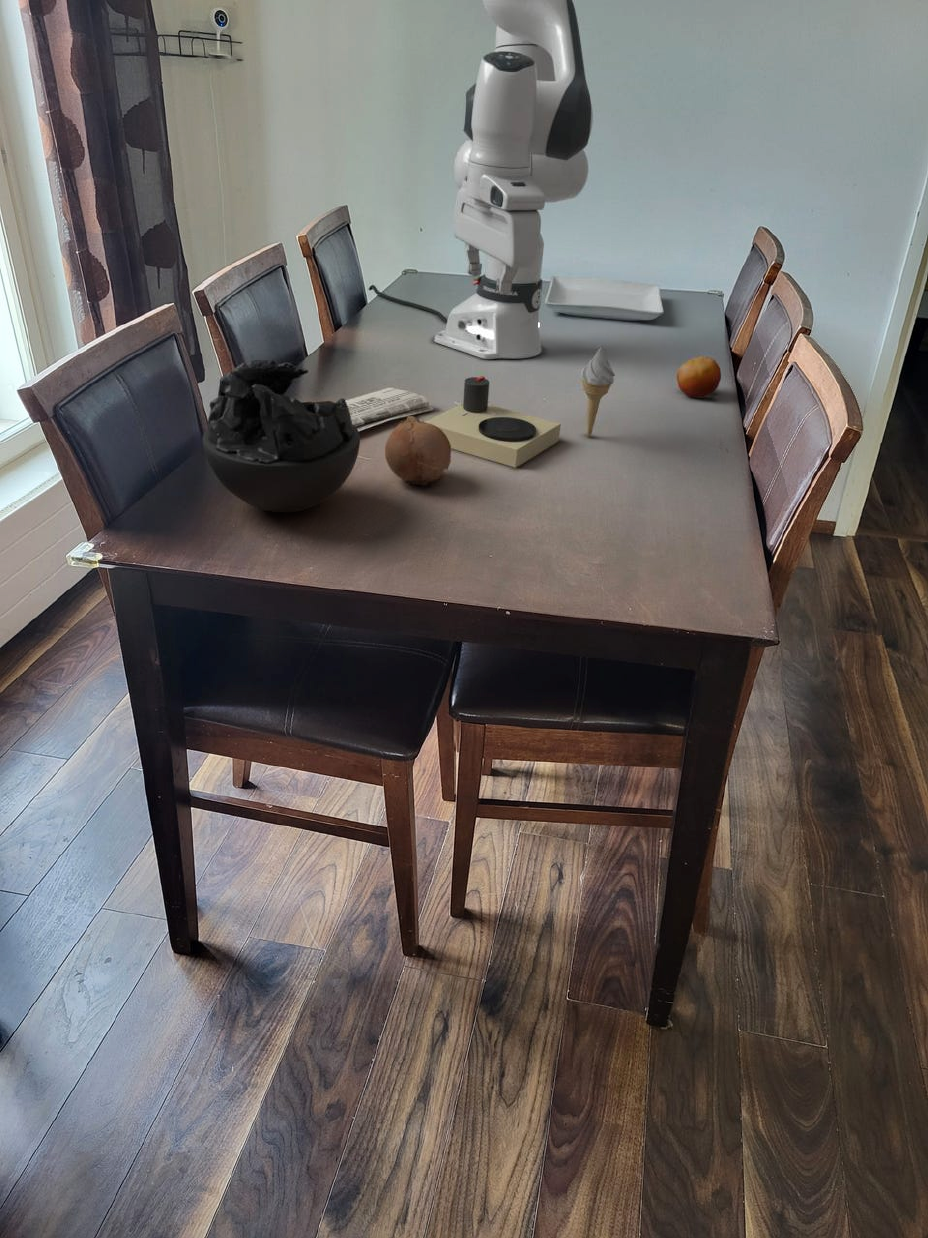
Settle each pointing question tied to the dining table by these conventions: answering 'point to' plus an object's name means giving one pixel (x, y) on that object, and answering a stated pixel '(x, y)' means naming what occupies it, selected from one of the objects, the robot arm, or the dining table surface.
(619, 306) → the square plate
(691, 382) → the fruit
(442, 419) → the hob
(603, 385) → the ice cream cone
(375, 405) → the newspaper
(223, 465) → the coal bowl
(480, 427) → the burner
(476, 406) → the hob knob
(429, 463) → the onion
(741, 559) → the dining table surface
